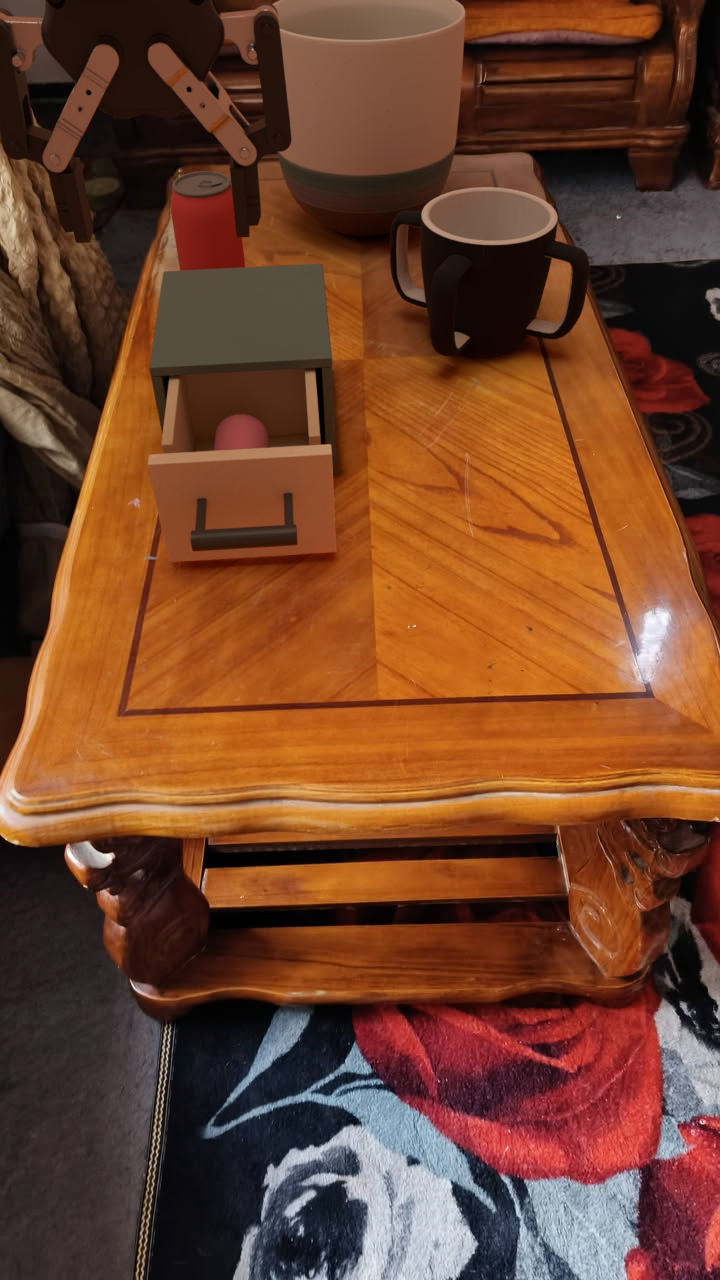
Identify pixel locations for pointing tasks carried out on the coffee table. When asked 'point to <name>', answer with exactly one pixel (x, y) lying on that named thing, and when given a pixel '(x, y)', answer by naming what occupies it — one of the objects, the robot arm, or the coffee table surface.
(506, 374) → the coffee table surface
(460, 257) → the mug
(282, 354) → the cabinet
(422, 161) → the planter
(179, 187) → the beer can
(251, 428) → the doll
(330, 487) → the drawer
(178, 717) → the coffee table surface
